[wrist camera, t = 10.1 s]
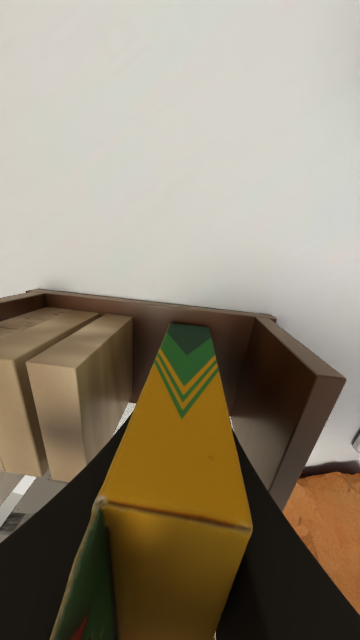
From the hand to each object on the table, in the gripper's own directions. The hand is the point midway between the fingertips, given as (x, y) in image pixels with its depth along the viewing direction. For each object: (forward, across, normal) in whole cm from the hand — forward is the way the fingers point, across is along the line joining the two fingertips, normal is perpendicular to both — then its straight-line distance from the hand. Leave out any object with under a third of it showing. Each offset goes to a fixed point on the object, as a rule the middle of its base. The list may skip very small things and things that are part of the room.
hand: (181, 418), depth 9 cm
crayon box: (+5, 0, 0) cm, 5 cm away
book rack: (+6, +3, 0) cm, 7 cm away
